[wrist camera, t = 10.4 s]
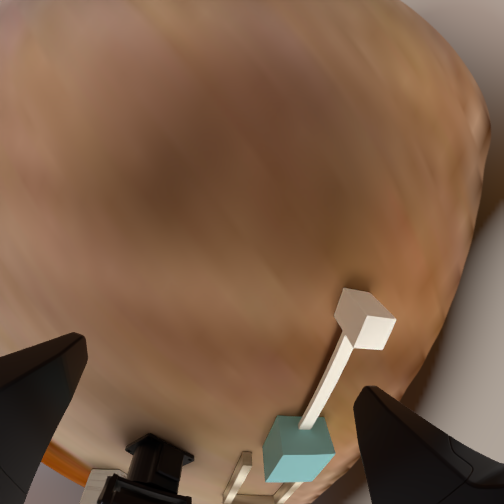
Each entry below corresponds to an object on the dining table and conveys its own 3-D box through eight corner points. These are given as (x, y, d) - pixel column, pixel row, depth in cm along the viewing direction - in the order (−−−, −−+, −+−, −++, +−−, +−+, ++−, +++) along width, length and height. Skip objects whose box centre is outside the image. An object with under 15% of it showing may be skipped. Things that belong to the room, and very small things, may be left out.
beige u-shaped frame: (277, 497, 29) (279, 514, 26) (222, 495, 29) (222, 513, 25) (313, 454, 26) (318, 476, 22) (242, 451, 25) (243, 475, 22)
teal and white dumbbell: (304, 448, 25) (311, 481, 20) (262, 446, 25) (265, 482, 20) (382, 294, 20) (414, 324, 15) (328, 284, 20) (351, 316, 15)
